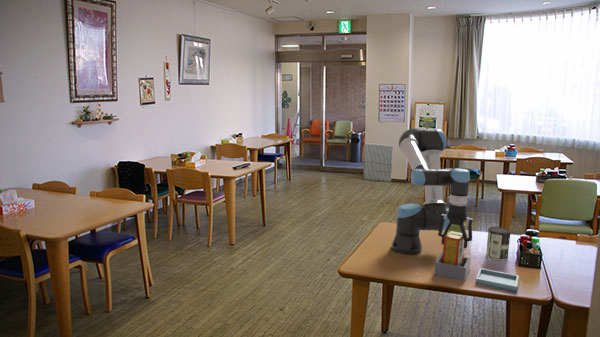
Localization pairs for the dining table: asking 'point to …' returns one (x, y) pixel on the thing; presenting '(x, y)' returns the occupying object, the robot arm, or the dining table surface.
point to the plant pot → (455, 228)
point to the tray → (497, 280)
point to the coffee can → (498, 243)
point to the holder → (452, 269)
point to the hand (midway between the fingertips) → (453, 252)
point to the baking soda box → (453, 248)
